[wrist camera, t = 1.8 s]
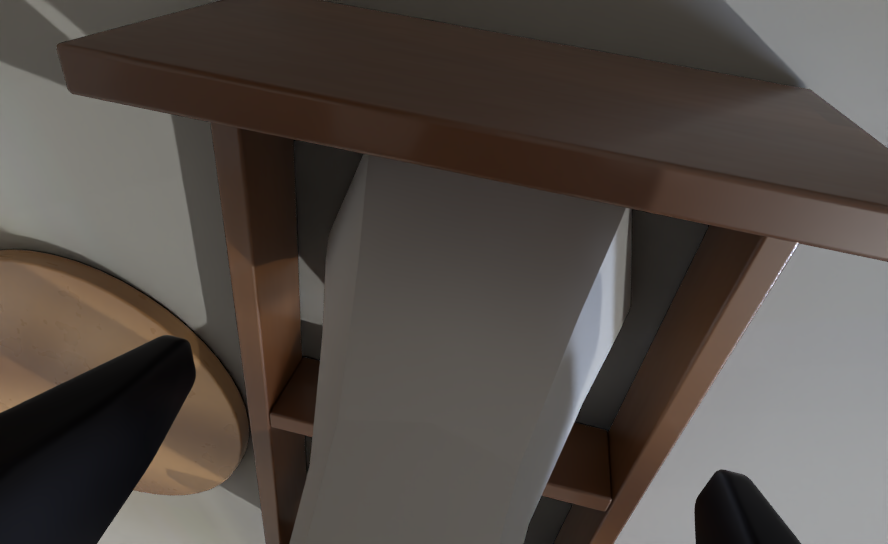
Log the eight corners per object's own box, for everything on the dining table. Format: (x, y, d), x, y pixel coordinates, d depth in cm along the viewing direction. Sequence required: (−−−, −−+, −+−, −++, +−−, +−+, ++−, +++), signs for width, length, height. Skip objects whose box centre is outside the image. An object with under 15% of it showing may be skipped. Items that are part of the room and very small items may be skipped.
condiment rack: (543, 598, 21) (536, 765, 17) (295, 530, 22) (231, 674, 18) (813, 88, 9) (1002, 230, 5) (259, -12, 10) (52, 42, 6)
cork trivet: (261, 510, 21) (253, 524, 21) (12, 442, 22) (-1, 454, 22) (233, 295, 15) (221, 308, 14) (-116, 213, 16) (-138, 223, 15)
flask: (584, 401, 14) (600, 1029, 6) (330, 339, 15) (49, 842, 7) (694, 154, 10) (1152, 1076, 2) (335, 80, 11) (-367, 594, 3)
